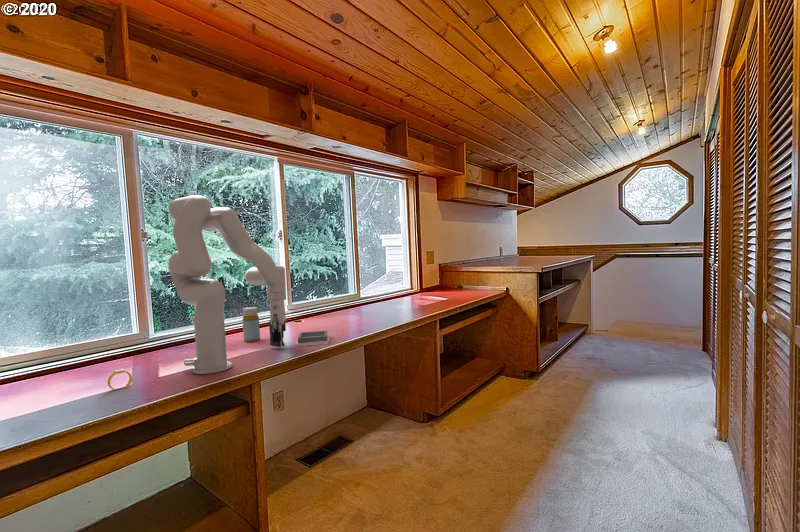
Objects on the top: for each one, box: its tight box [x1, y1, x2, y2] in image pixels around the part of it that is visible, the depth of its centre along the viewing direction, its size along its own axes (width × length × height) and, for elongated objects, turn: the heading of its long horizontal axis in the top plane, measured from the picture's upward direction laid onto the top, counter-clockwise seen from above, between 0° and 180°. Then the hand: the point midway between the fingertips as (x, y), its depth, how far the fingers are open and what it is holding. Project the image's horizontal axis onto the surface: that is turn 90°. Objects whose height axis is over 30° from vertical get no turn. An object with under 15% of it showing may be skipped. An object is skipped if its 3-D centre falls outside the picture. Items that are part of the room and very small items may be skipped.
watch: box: [107, 368, 133, 391], centre depth 122 cm, size 6×3×6 cm, turn 139°
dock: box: [295, 330, 331, 348], centre depth 173 cm, size 14×14×3 cm
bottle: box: [242, 306, 261, 343], centre depth 180 cm, size 7×7×15 cm
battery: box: [268, 318, 287, 348], centre depth 163 cm, size 7×4×11 cm, turn 52°
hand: (278, 339), depth 163 cm, fingers closed on battery, 6 cm apart
